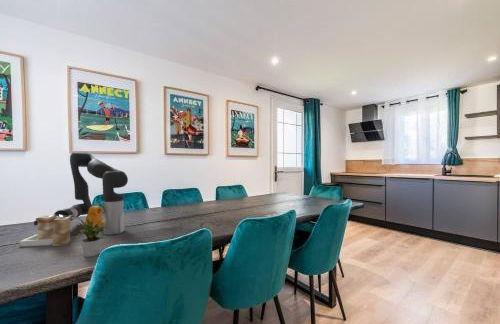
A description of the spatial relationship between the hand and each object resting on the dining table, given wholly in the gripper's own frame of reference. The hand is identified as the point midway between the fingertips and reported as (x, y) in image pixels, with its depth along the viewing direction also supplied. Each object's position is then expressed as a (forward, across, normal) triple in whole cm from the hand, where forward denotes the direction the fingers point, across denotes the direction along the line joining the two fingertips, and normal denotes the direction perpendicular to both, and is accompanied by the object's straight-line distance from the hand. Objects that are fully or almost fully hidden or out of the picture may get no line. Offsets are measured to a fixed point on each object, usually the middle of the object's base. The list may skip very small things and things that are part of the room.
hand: (45, 222), depth 110 cm
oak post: (+5, +10, +9) cm, 14 cm away
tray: (-1, 0, +9) cm, 9 cm away
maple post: (-1, 0, +8) cm, 8 cm away
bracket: (-25, +12, +9) cm, 29 cm away
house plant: (+20, +28, +9) cm, 36 cm away
